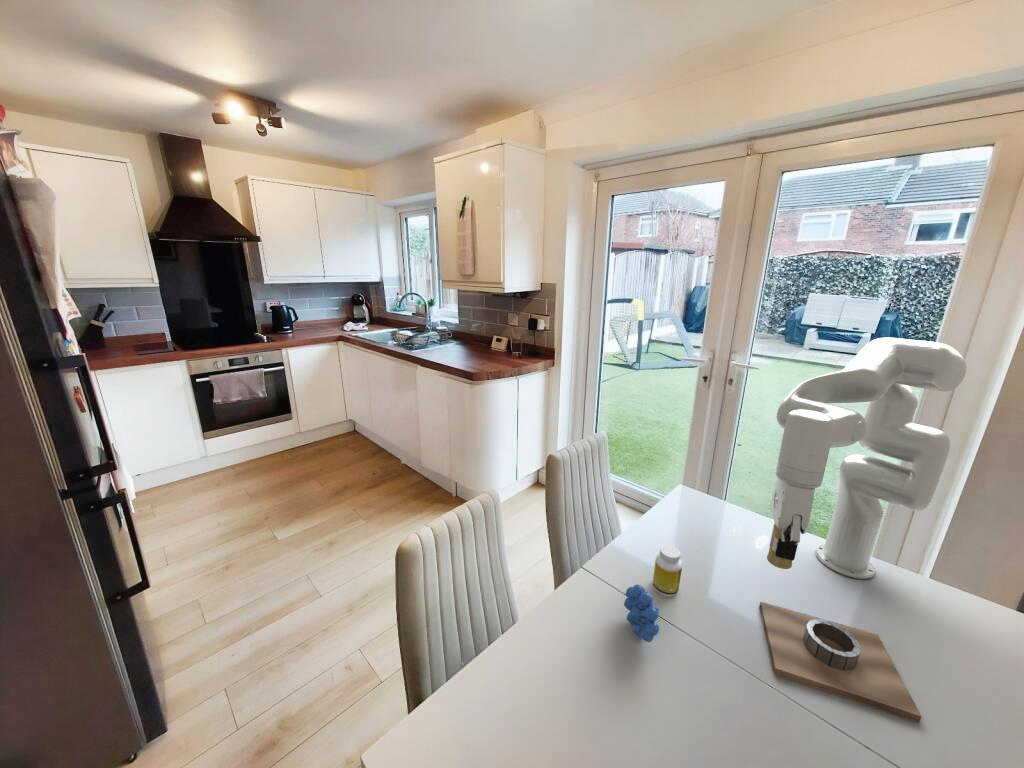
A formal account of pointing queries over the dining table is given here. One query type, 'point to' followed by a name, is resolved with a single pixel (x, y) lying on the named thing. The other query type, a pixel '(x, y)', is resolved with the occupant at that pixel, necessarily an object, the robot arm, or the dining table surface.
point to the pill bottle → (667, 571)
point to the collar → (825, 652)
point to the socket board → (863, 684)
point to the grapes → (642, 612)
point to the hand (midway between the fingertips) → (782, 549)
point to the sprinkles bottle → (771, 555)
